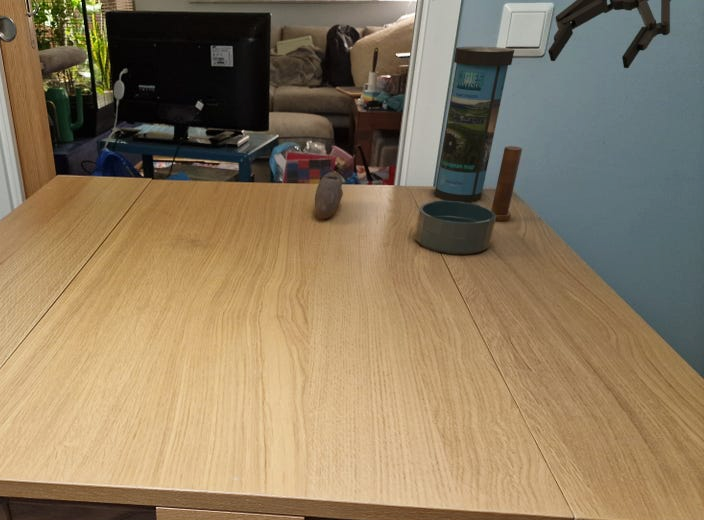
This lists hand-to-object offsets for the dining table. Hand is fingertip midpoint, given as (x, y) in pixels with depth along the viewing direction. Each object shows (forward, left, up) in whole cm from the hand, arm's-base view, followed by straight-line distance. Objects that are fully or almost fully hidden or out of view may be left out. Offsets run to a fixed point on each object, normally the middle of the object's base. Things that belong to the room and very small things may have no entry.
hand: (586, 59), depth 121 cm
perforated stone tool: (+22, +40, -30) cm, 54 cm away
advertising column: (+19, +6, -30) cm, 36 cm away
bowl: (-3, +29, -30) cm, 41 cm away
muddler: (+4, +10, -30) cm, 31 cm away
